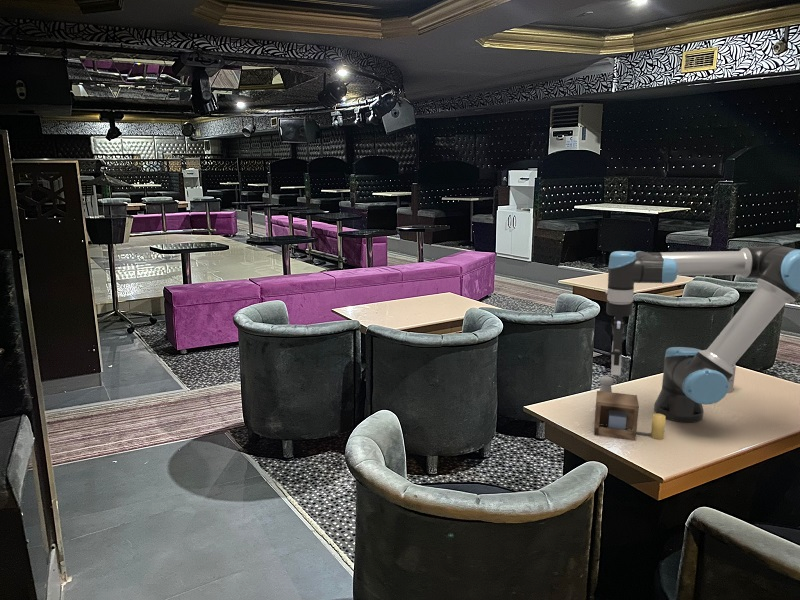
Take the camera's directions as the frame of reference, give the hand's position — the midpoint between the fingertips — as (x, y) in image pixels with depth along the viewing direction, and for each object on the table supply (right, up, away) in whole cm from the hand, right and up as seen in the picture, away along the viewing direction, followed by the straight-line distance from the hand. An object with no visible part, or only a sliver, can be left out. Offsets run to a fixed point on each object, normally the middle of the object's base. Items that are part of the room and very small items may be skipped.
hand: (615, 368), depth 186 cm
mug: (+52, -13, +38) cm, 66 cm away
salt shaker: (+1, -17, +15) cm, 23 cm away
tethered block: (+6, -21, -1) cm, 21 cm away
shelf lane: (0, -20, +1) cm, 20 cm away
